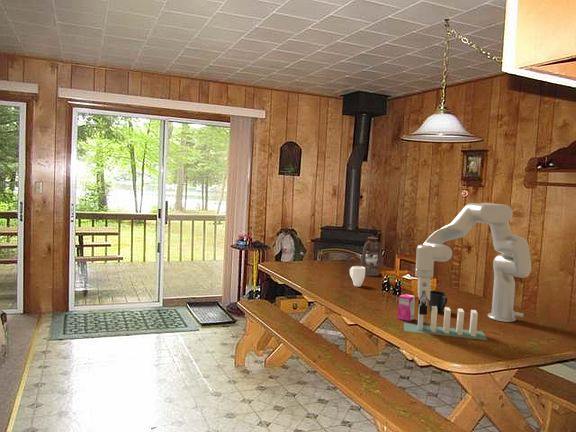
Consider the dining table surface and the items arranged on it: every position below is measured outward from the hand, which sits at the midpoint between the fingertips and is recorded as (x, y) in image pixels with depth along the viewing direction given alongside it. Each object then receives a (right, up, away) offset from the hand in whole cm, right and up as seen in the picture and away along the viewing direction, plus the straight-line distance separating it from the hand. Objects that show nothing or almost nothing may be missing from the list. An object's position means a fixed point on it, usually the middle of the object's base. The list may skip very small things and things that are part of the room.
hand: (422, 311), depth 217 cm
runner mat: (+9, -9, -2) cm, 12 cm away
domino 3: (+10, -8, -2) cm, 13 cm away
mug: (+16, -7, +30) cm, 35 cm away
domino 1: (-1, -8, 0) cm, 8 cm away
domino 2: (+4, -8, -1) cm, 9 cm away
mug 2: (-18, -1, +84) cm, 86 cm away
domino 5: (+21, -9, -4) cm, 23 cm away
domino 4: (+15, -9, -3) cm, 18 cm away
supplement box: (-4, -7, +14) cm, 16 cm away
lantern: (-3, +2, +119) cm, 119 cm away
